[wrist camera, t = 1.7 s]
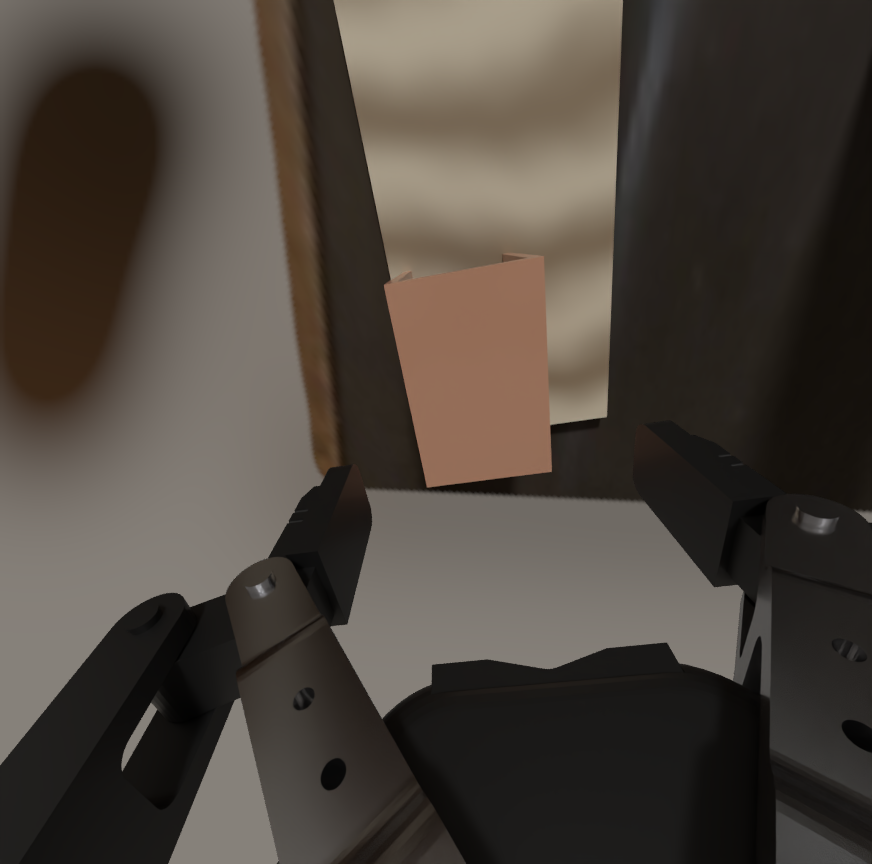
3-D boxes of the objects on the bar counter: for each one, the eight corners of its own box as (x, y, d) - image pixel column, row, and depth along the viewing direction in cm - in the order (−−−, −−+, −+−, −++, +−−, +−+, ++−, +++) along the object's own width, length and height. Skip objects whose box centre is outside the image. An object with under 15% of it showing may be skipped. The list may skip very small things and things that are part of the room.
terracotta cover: (403, 272, 22) (383, 284, 15) (510, 252, 22) (544, 255, 15) (431, 422, 27) (427, 487, 19) (522, 409, 26) (551, 471, 19)
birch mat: (334, -8, 18) (329, -22, 17) (616, -80, 17) (626, -99, 16) (425, 436, 28) (424, 442, 27) (601, 411, 27) (606, 416, 26)
